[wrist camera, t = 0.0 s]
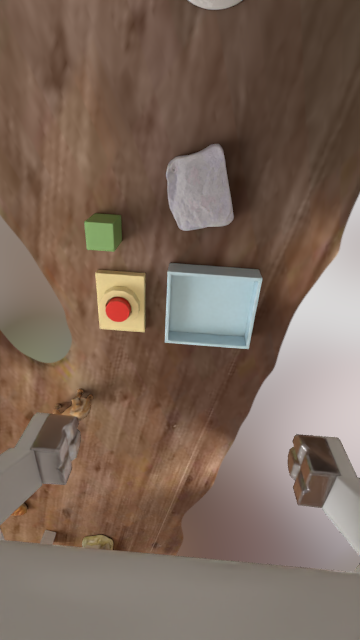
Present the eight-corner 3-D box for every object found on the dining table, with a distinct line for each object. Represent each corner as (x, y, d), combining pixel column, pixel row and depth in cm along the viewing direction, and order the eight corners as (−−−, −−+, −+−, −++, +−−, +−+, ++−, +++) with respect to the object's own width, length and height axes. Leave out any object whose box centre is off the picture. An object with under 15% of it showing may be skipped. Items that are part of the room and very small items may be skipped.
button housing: (97, 269, 61) (92, 276, 58) (145, 273, 61) (142, 280, 58) (101, 324, 67) (97, 333, 64) (145, 327, 67) (142, 337, 64)
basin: (169, 262, 59) (167, 271, 56) (258, 269, 59) (262, 278, 55) (166, 330, 67) (164, 342, 63) (245, 337, 66) (248, 349, 63)
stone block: (182, 230, 58) (238, 218, 54) (175, 237, 54) (235, 226, 50) (164, 157, 53) (225, 140, 49) (155, 160, 49) (220, 141, 45)
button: (107, 296, 60) (104, 300, 58) (130, 297, 60) (129, 302, 58) (108, 316, 62) (106, 321, 61) (131, 318, 62) (129, 323, 61)
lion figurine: (84, 376, 74) (71, 405, 66) (103, 389, 76) (92, 418, 68) (50, 408, 80) (34, 438, 72) (68, 420, 82) (54, 450, 74)
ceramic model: (77, 534, 109) (67, 569, 100) (109, 533, 107) (101, 568, 99) (90, 555, 116) (81, 590, 107) (120, 555, 114) (114, 589, 106)
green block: (95, 213, 56) (84, 221, 50) (121, 215, 56) (113, 223, 50) (96, 239, 58) (86, 249, 53) (122, 241, 58) (114, 251, 53)
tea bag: (42, 539, 112) (29, 573, 103) (45, 529, 109) (31, 564, 100) (53, 542, 112) (41, 576, 104) (56, 532, 109) (43, 566, 100)
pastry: (31, 502, 101) (26, 515, 98) (25, 512, 104) (19, 524, 101) (2, 491, 99) (-5, 504, 95) (-4, 501, 102) (-11, 514, 99)
